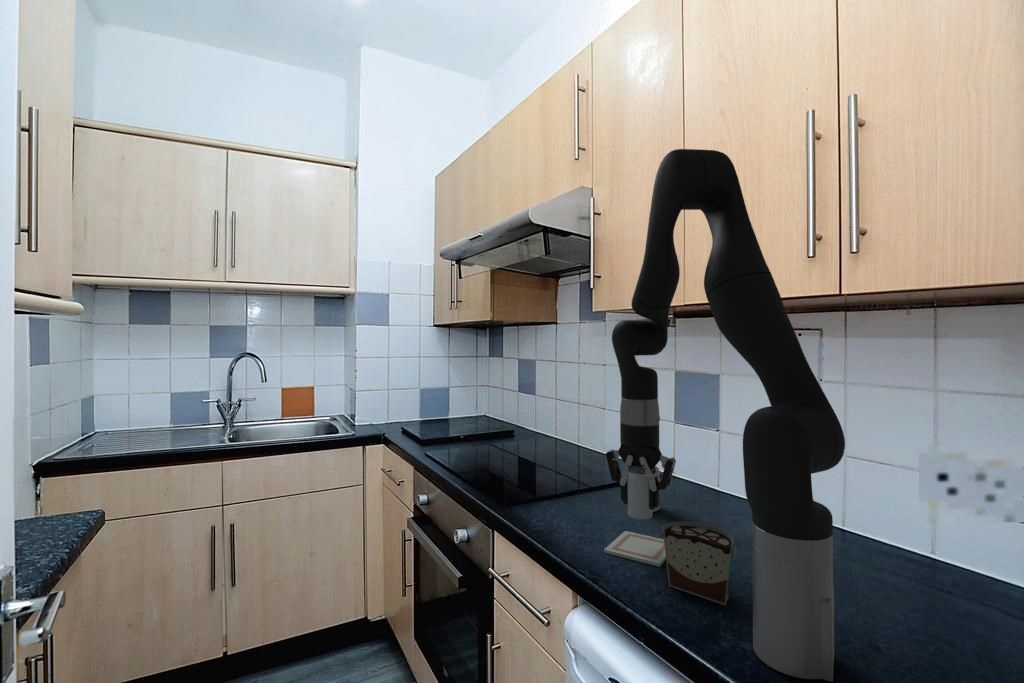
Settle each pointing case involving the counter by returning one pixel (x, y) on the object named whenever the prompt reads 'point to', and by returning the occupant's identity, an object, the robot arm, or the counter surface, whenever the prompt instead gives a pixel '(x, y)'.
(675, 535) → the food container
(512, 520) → the counter surface
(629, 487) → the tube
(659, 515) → the counter surface
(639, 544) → the card
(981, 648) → the counter surface
